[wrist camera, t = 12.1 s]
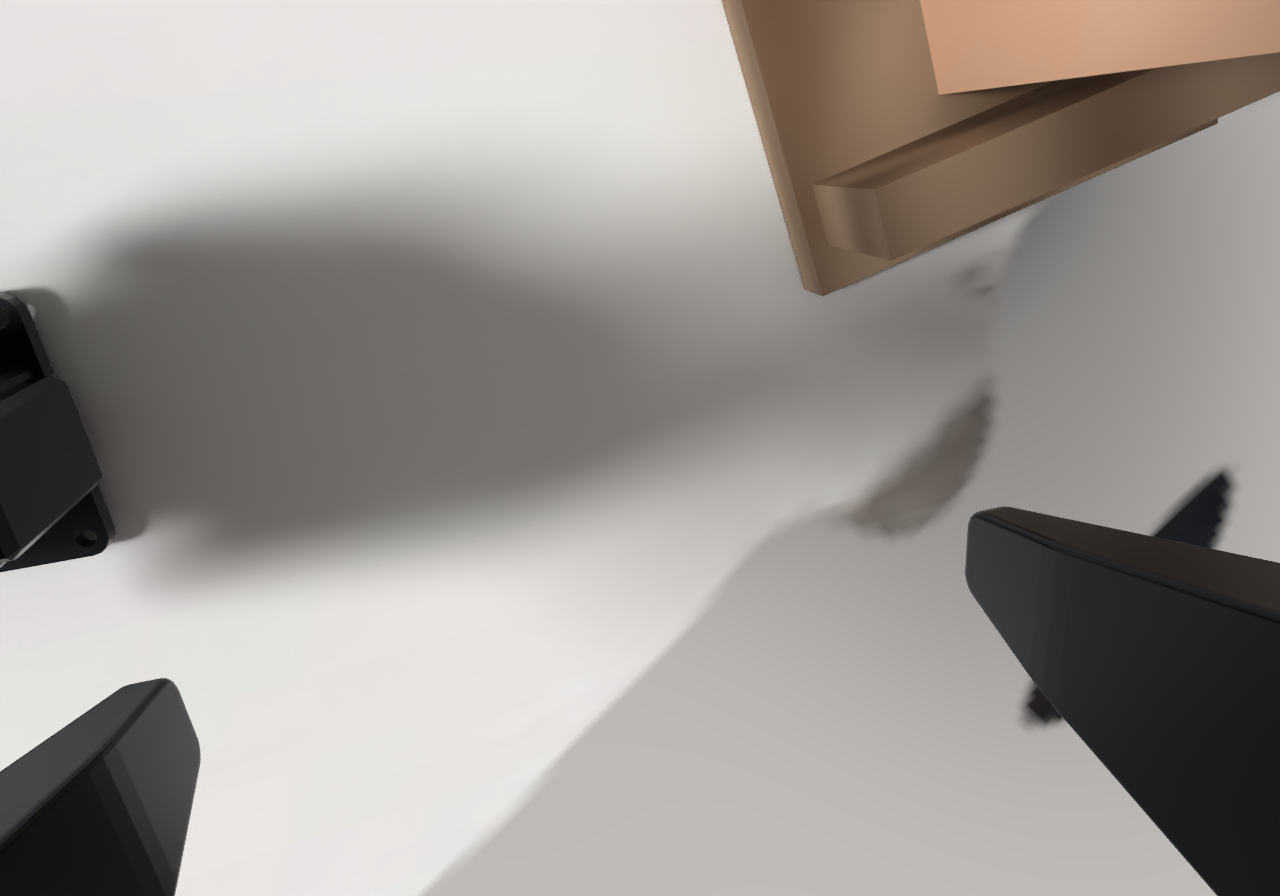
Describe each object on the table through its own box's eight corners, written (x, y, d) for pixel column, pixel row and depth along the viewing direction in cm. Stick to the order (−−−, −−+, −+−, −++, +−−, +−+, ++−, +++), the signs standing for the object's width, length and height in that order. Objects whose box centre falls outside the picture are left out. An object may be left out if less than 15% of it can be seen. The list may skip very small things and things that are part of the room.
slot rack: (804, 289, 22) (883, 319, 18) (686, -121, 18) (754, -202, 14) (1180, 124, 22) (1338, 118, 18) (1149, -304, 18) (1341, -433, 14)
